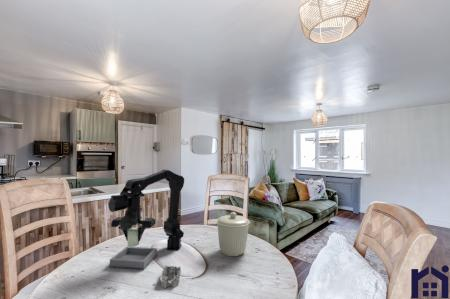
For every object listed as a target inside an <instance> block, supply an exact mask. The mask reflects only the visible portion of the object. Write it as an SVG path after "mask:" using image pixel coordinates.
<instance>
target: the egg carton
mask: <svg viewBox="0 0 450 299" xmlns="http://www.w3.org/2000/svg"><path fill="white" fill-rule="evenodd" d="M181 273H182V269H181V266H174V265H173V266H171V265H170V266H168V265H164V267H163V270H162V271H161V273H160V274H161V275H160V276H159V279H160V286H161V287H163V288H164V289H165V288H168V287H169V286H171V287H172V288H176V287H177V286H179V284H180V278H181V277H180V276H181ZM175 274H176V276H175ZM167 275H168V279H169V280H166V279H167Z"/></svg>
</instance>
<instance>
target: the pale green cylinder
mask: <svg viewBox="0 0 450 299" xmlns="http://www.w3.org/2000/svg"><path fill="white" fill-rule="evenodd" d="M137 228H139V227H133V226H132V227H131V228H130V229H128V241H127V247H137V246H139V245H140V241H139V242H138V229H137Z"/></svg>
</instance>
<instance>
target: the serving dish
mask: <svg viewBox="0 0 450 299" xmlns="http://www.w3.org/2000/svg"><path fill="white" fill-rule="evenodd" d="M157 250H158V248H156V247H155V248H154V247H137V246H134V247H129V246H126V247H124V248H123V249H122V250H120V251H119V252H118V253H116V254H115V255H114V256H112V257H111V258H110V259H109V268H110V269H125V270H126V269H128V270H137V271H138V270H139V271H140V270H141V271H145V269H146V268H147V267H148V266H149V265H150V264H151V263H152V261H153V260H154V259H155V258H156V257H157V255H158V254H157V252H158V251H157Z"/></svg>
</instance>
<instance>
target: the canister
mask: <svg viewBox="0 0 450 299" xmlns="http://www.w3.org/2000/svg"><path fill="white" fill-rule="evenodd" d="M215 222H216V225H217V237H218V245H219V249H220V250H219V251H220V252H221V253H222V254H224V255H225V256H228V257H238V256H241V255H242V254H244V253H245V251H246V248H247V242H248V233H249V225H250V224H251V221H250V220H249V219H248V218H247V217H245V216H243V215H237V213H236V212H235V211H231V212H230V213H229V214H226V215H222V216H220V217H218V218H217V219H216V220H215Z"/></svg>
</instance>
